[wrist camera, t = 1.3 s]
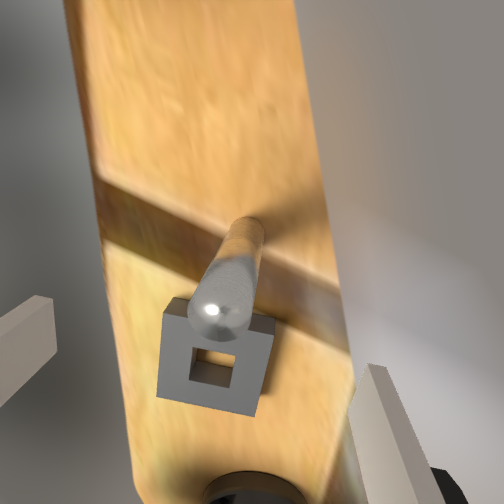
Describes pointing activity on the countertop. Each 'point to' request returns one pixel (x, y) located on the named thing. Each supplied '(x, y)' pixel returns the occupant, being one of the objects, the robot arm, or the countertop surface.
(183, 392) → the socket block
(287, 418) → the countertop surface
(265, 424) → the countertop surface
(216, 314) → the steel peg
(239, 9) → the countertop surface
